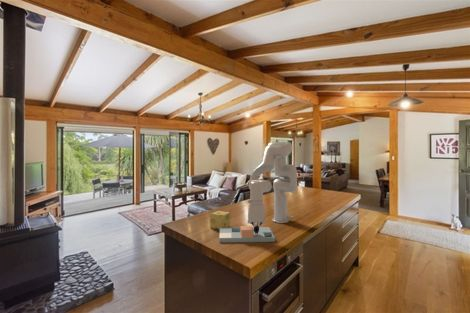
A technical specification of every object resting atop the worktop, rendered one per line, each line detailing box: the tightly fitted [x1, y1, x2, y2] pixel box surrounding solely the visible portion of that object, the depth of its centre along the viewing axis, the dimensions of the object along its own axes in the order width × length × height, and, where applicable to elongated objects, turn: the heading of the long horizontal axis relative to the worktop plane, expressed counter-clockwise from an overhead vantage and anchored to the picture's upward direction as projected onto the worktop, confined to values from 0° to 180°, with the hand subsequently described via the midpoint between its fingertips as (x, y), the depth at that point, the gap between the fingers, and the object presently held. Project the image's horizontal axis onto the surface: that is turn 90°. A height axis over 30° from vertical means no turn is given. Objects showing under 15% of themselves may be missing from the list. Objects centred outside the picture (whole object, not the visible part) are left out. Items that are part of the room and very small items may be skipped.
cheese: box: [209, 210, 232, 231], centre depth 159 cm, size 10×11×10 cm
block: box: [239, 225, 254, 238], centre depth 137 cm, size 7×7×4 cm
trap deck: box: [218, 226, 276, 243], centre depth 142 cm, size 32×18×2 cm, turn 93°
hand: (256, 232), depth 138 cm, fingers closed
